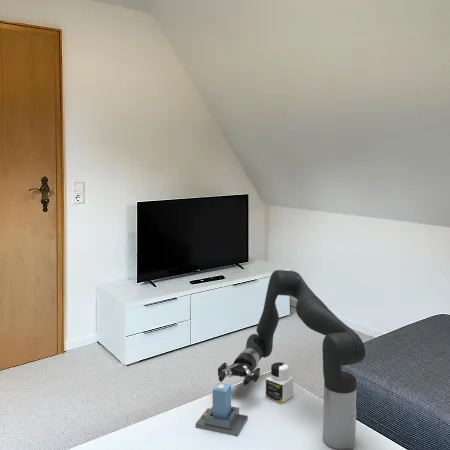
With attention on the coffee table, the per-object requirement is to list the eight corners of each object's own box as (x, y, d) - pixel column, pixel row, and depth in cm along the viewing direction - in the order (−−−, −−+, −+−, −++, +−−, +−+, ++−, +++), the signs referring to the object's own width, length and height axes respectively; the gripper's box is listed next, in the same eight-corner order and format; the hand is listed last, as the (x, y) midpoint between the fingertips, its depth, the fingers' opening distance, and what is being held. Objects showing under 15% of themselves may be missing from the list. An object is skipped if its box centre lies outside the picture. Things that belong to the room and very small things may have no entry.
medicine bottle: (265, 397, 168) (265, 365, 167) (276, 390, 174) (277, 358, 172) (282, 404, 164) (282, 370, 162) (293, 396, 169) (294, 364, 168)
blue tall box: (231, 416, 153) (231, 382, 152) (225, 424, 149) (225, 389, 147) (218, 414, 155) (218, 380, 153) (212, 422, 150) (212, 387, 149)
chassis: (247, 419, 154) (247, 408, 154) (237, 435, 145) (237, 424, 144) (207, 411, 159) (207, 401, 158) (195, 427, 150) (195, 416, 149)
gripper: (228, 349, 177) (212, 367, 162) (265, 354, 172) (252, 373, 157) (228, 368, 178) (212, 388, 163) (265, 374, 173) (252, 395, 158)
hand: (232, 381), depth 160 cm, fingers open, 8 cm apart
